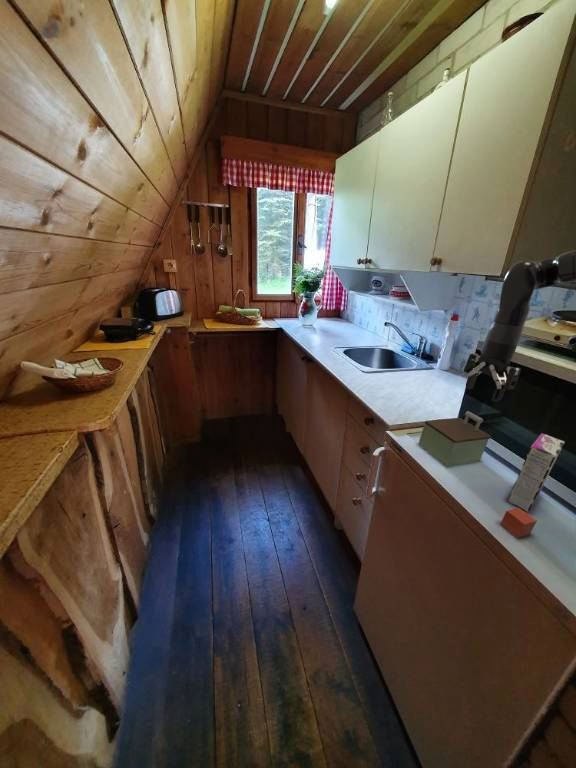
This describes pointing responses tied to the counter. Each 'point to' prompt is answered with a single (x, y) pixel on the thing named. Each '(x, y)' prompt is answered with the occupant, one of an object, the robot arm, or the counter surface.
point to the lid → (459, 428)
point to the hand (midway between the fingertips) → (481, 394)
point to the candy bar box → (535, 471)
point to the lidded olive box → (451, 448)
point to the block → (518, 522)
